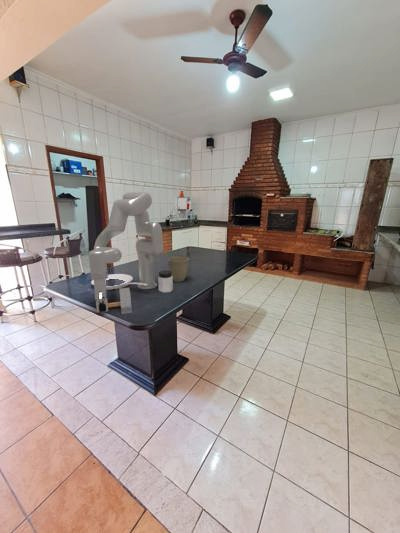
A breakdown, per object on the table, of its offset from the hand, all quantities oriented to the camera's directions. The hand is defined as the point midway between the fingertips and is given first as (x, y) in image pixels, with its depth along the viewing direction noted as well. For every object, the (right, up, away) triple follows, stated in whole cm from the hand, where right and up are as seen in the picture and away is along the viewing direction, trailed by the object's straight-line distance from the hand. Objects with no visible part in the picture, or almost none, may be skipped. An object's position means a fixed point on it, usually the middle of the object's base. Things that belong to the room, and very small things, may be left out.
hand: (103, 307), depth 113 cm
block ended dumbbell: (+5, -1, +2) cm, 6 cm away
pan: (-2, +7, +33) cm, 34 cm away
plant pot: (+34, +11, +47) cm, 59 cm away
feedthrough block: (+10, 0, +4) cm, 11 cm away
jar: (+28, +6, +28) cm, 40 cm away
